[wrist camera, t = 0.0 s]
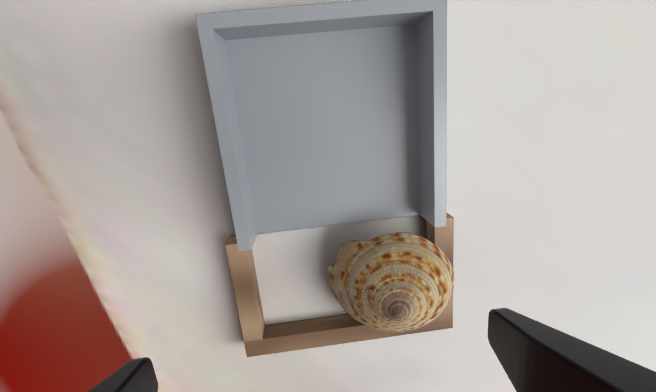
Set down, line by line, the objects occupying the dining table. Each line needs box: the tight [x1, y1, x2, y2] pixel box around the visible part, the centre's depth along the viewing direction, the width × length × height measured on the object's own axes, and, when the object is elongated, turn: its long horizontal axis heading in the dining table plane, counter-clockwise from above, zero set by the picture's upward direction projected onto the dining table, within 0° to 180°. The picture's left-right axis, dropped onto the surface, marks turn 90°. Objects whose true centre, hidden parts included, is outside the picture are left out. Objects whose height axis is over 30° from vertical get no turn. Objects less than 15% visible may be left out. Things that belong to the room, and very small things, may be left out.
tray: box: [195, 0, 447, 252], centre depth 21 cm, size 14×14×3 cm
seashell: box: [329, 232, 454, 332], centre depth 22 cm, size 8×6×8 cm
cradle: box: [225, 213, 454, 357], centre depth 24 cm, size 9×16×2 cm, turn 95°
